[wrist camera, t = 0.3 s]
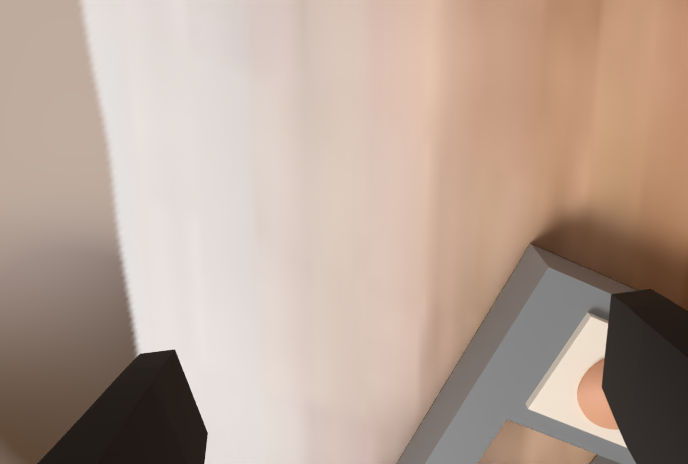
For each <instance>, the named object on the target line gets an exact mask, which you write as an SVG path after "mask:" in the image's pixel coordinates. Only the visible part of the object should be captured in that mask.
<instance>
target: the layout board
mask: <svg viewBox="0 0 688 464" xmlns="http://www.w3.org/2000/svg"><path fill="white" fill-rule="evenodd" d="M632 291H638V290H636V289H633V288H631V287H629V286H626V285H624V284H622V283H619V282H617V281H615V280H613V279H610V278H608V277H606V276H603V275H601V274H599V273H597V272H594V271H592V270H590V269H587V268H585V267H583V266H580V265H578V264H576V263H574V262H571V261H569V260H567V259H564V258H562V257H560V256H558V255H555V254H553V253H551V252H548V251H546V250H544V249H541V248H539V247H537V246H535V245H532V244H530V245H529V247H528V248H527V250H526V252H525V253H524V255H523V257H522V258H521V260H520V262H519V263H518V265H517V266H516V268H515V270H514V271H513V273H512V275H511V276H510V278H509V280H508V281H507V283H506V285H505V286H504V288H503V290H502V291H501V293H500V294H499V296H498V298H497V299H496V301H495V303H494V304H493V306H492V308H491V309H490V311H489V313H488V314H487V316H486V318H485V319H484V321H483V323H482V324H481V326H480V327H479V329H478V331H477V332H476V334H475V336H474V337H473V339H472V341H471V342H470V344H469V346H468V347H467V349H466V351H465V352H464V354H463V355H462V357H461V359H460V360H459V362H458V364H457V365H456V367H455V369H454V370H453V372H452V374H451V375H450V377H449V379H448V380H447V382H446V383H445V385H444V387H443V388H442V390H441V392H440V393H439V395H438V397H437V398H436V400H435V402H434V403H433V405H432V407H431V408H430V410H429V412H428V413H427V415H426V416H425V418H424V420H423V421H422V423H421V425H420V426H419V428H418V430H417V431H416V433H415V435H414V436H413V438H412V440H411V441H410V443H409V444H408V446H407V448H406V449H405V451H404V453H403V454H402V456H401V458H400V459H399V461H398V463H397V464H477V463H478V462H479V460H480V459H481V457H482V456H483V454H484V453H485V451H486V450H487V448H488V447H489V445H490V444H491V442H492V441H493V439H494V438H495V436H496V435H497V433H498V432H499V430H500V429H501V427H502V426H503V424H504V423H505V421H506V420H510V421H512V422H515V423H517V424H520V425H522V426H525V427H528V428H530V429H533V430H535V431H538V432H541V433H543V434H546V435H548V436H551V437H553V438H556V439H559V440H561V441H564V442H566V443H569V444H572V445H574V446H577V447H579V448H582V449H584V450H587V451H590V452H592V453H595V454H597V456H596V457H595V458H594V460H593V461H592V462H591V463H590V464H636V462H635V461H634V459H633V457H632V455H631V453H630V452H629V450H628V448H627V446H626V444H625V442H624V440H623V437H622V435H621V433H620V430H619V428H618V426H617V424H616V421H615V419H614V417H613V414H612V412H611V409H610V407H609V404H608V402H607V399H606V397H605V394H604V392H603V389H602V378H603V368H604V359H605V349H606V339H607V330H608V320H609V310H610V301H611V294H616V293H624V292H632Z"/></svg>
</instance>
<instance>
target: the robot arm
mask: <svg viewBox="0 0 688 464" xmlns="http://www.w3.org/2000/svg"><path fill="white" fill-rule="evenodd" d="M602 389H603V392H604V394H605V397H606V399H607V402H608V404H609V407H610V409H611V412H612V414H613V417H614V419H615V421H616V424H617V426H618V428H619V430H620V433H621V435H622V437H623V440H624V442H625V444H626V446H627V448H628V450H629V452H630V453H631V455H632V457H633V459H634V461H635V462H636V464H688V311H686V310H685V309H683V308H682V307H680V306H678V305H677V304H675V303H673V302H672V301H670V300H668V299H667V298H665V297H663V296H662V295H660V294H658V293H656V292H655V291H653V290H651V289H647V290H640V291H632V292H624V293H616V294H611V301H610V310H609V320H608V330H607V339H606V349H605V359H604V368H603V378H602ZM207 435H208V433H207V430H206V428H205V425H204V423H203V420H202V417H201V415H200V412H199V410H198V407H197V405H196V402H195V400H194V397H193V395H192V392H191V389H190V387H189V384H188V382H187V379H186V377H185V374H184V372H183V369H182V367H181V364H180V361H179V359H178V356H177V354H176V351H175V350H167V351H159V352H151V353H144V354H139V355H138V356H137V357H136V358H135V359H134V360H133V361H132V363H131V364H130V365H129V366H128V367H127V368H126V369H125V370H124V371H123V372H122V373H121V374H120V375H119V376H118V377H117V378H116V380H115V381H114V382H113V383H112V384H111V385H110V386H109V387H108V388H107V389H106V390H105V392H104V393H103V394H102V395H101V396H100V397H99V398H98V399H97V400H96V402H95V403H94V404H93V405H92V406H91V407H90V408H89V409H88V410H87V411H86V412H85V414H84V415H83V416H82V417H81V418H80V419H79V420H78V421H77V422H76V423H75V424H74V425H73V426H72V427H71V429H70V430H69V431H68V432H67V433H66V434H65V435H64V436H63V437H62V438H61V439H60V440H59V441H58V443H57V444H56V445H55V446H54V447H53V448H52V449H51V450H50V451H49V452H48V453H47V454H46V455H45V456H44V458H43V459H42V460H41V461H40V462H39V463H38V464H204V461H205V452H206V443H207Z"/></svg>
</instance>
